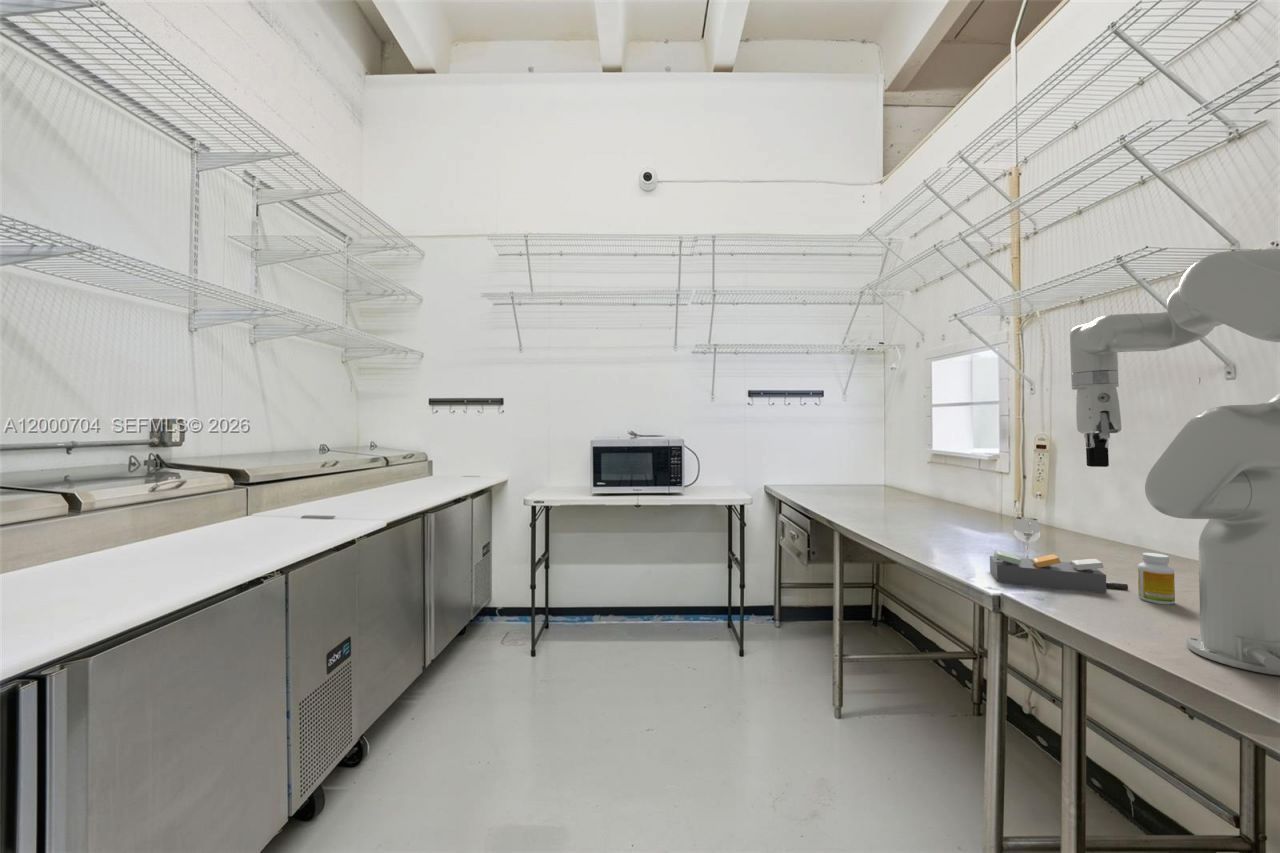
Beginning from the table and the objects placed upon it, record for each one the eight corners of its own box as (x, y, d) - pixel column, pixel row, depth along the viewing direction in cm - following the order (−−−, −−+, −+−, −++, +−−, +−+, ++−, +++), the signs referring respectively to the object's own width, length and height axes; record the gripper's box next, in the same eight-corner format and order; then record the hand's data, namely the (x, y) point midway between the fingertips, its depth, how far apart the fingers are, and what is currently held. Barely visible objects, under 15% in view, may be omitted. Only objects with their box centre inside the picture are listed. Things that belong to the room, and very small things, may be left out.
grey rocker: (1103, 568, 112) (1101, 562, 113) (1077, 570, 114) (1076, 564, 115) (1097, 563, 116) (1095, 558, 116) (1072, 565, 118) (1070, 560, 118)
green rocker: (1019, 564, 119) (1021, 559, 119) (996, 558, 121) (997, 553, 121) (1016, 560, 123) (1017, 555, 123) (993, 555, 125) (994, 550, 125)
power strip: (1136, 596, 109) (1136, 575, 109) (997, 581, 120) (996, 563, 120) (1118, 583, 118) (1117, 564, 118) (990, 571, 129) (989, 554, 129)
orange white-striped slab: (1061, 562, 116) (1058, 557, 116) (1037, 567, 118) (1035, 562, 118) (1055, 558, 119) (1053, 553, 120) (1033, 563, 121) (1031, 558, 122)
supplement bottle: (1182, 605, 103) (1181, 558, 103) (1151, 604, 104) (1150, 557, 104) (1161, 597, 108) (1160, 552, 108) (1131, 595, 109) (1130, 551, 110)
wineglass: (1017, 558, 141) (1016, 516, 141) (1043, 562, 137) (1042, 518, 137) (1011, 562, 138) (1010, 518, 138) (1037, 566, 133) (1036, 521, 133)
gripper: (1132, 376, 100) (1136, 468, 99) (1103, 383, 113) (1106, 465, 113) (1084, 378, 103) (1087, 468, 103) (1061, 385, 116) (1064, 464, 116)
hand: (1097, 466), depth 108 cm, fingers closed
